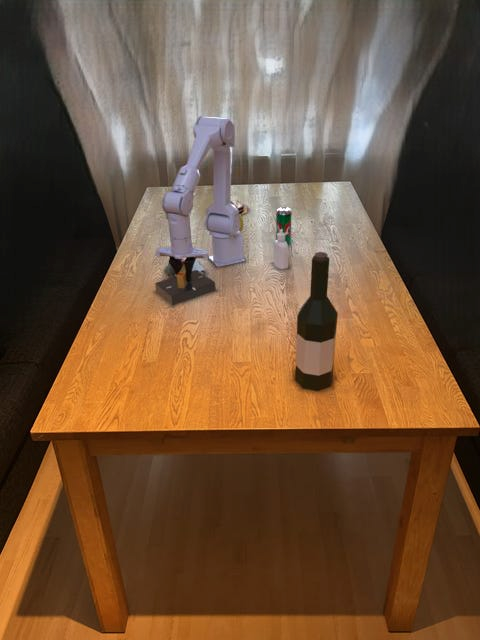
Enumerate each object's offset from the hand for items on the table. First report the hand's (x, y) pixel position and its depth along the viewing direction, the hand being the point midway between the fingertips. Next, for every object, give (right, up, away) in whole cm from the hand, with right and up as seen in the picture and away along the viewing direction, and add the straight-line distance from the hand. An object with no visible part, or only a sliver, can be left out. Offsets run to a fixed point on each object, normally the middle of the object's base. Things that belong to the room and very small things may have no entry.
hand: (184, 280), depth 150 cm
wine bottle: (+32, -25, -34) cm, 53 cm away
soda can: (+30, +15, +29) cm, 45 cm away
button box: (-1, +3, +13) cm, 13 cm away
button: (-3, +5, +11) cm, 12 cm away
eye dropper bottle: (+28, +5, +14) cm, 32 cm away
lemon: (+14, +19, +37) cm, 44 cm away
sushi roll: (+11, +32, +57) cm, 66 cm away
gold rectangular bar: (0, -1, 0) cm, 1 cm away
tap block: (0, -3, +2) cm, 4 cm away
